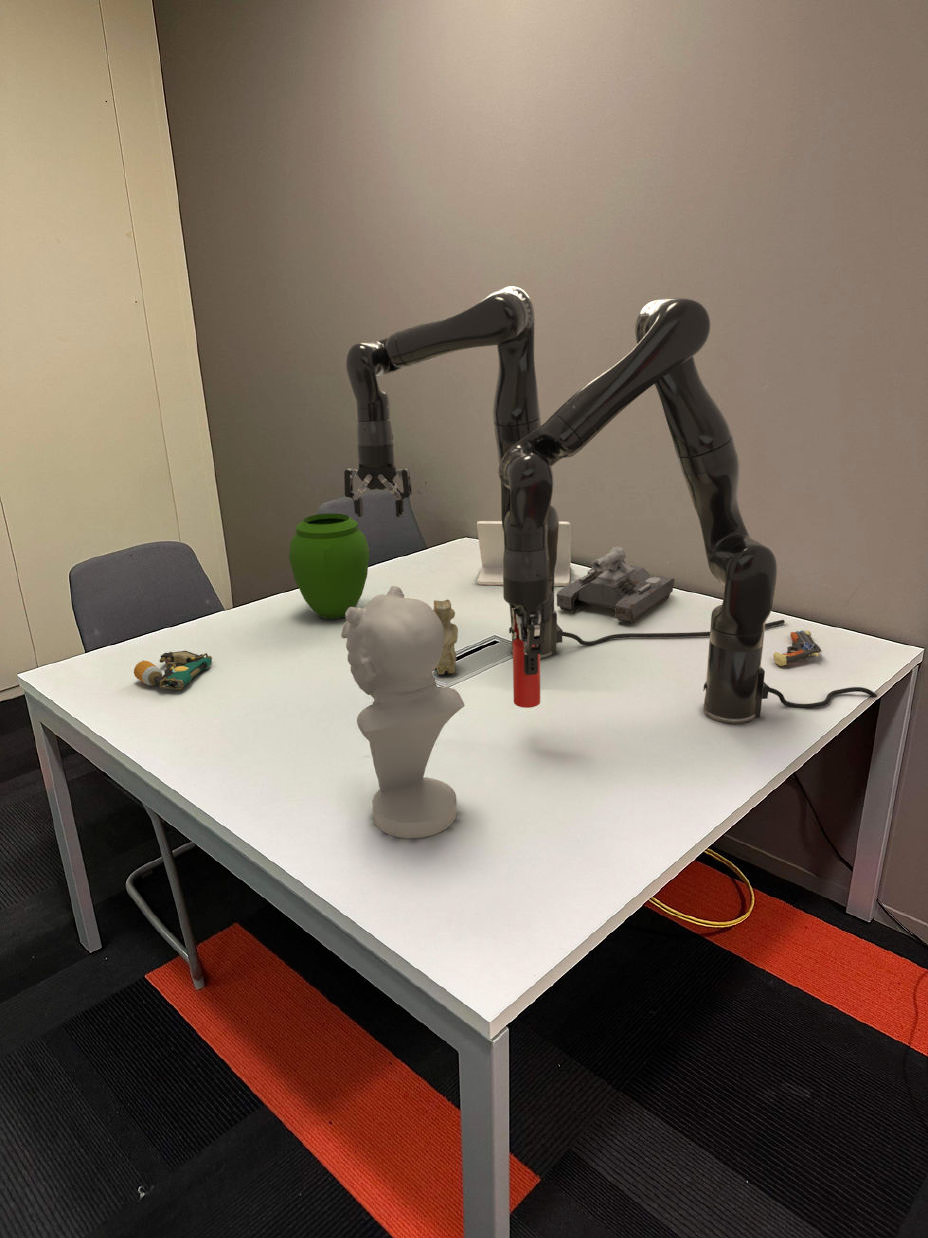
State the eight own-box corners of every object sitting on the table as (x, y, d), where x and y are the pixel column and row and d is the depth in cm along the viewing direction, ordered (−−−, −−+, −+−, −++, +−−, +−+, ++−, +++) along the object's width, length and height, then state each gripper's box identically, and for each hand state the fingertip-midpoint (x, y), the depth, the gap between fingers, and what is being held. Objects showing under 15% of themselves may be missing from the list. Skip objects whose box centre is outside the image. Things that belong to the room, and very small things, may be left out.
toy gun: (776, 657, 175) (828, 653, 173) (763, 629, 193) (810, 626, 191) (777, 669, 176) (828, 666, 174) (763, 640, 194) (810, 637, 191)
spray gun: (177, 659, 191) (231, 671, 185) (120, 684, 176) (176, 698, 171) (176, 641, 190) (230, 653, 184) (118, 665, 175) (174, 678, 169)
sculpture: (458, 662, 183) (456, 596, 178) (460, 676, 176) (457, 608, 171) (431, 663, 183) (428, 597, 177) (431, 677, 176) (428, 609, 171)
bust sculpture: (415, 752, 147) (404, 557, 135) (484, 821, 127) (478, 600, 115) (327, 777, 140) (307, 574, 128) (385, 855, 120) (368, 623, 108)
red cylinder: (525, 710, 145) (524, 650, 141) (508, 701, 149) (507, 641, 145) (545, 702, 147) (545, 643, 143) (528, 693, 151) (528, 635, 147)
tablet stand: (569, 585, 229) (570, 524, 223) (476, 584, 232) (475, 523, 226) (570, 566, 246) (571, 508, 240) (484, 564, 249) (483, 507, 243)
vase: (389, 608, 216) (383, 514, 208) (339, 633, 201) (330, 533, 192) (330, 596, 226) (322, 506, 218) (278, 619, 211) (267, 523, 202)
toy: (603, 584, 229) (605, 530, 224) (673, 597, 218) (677, 540, 213) (555, 612, 210) (556, 553, 205) (630, 627, 199) (633, 566, 194)
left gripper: (337, 444, 177) (343, 520, 183) (404, 443, 175) (408, 521, 181) (346, 438, 184) (352, 512, 190) (411, 438, 182) (415, 512, 188)
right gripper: (561, 583, 134) (560, 682, 140) (536, 558, 147) (536, 649, 153) (514, 588, 132) (516, 687, 138) (493, 562, 146) (495, 654, 152)
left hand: (379, 516), depth 186 cm, fingers open, 8 cm apart
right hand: (526, 667), depth 146 cm, fingers closed on red cylinder, 4 cm apart
